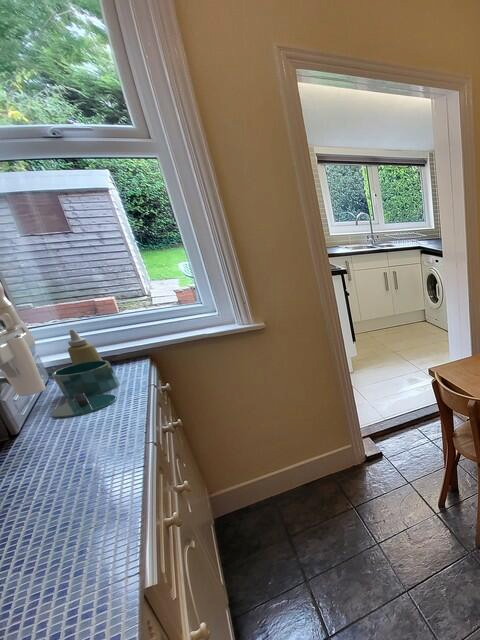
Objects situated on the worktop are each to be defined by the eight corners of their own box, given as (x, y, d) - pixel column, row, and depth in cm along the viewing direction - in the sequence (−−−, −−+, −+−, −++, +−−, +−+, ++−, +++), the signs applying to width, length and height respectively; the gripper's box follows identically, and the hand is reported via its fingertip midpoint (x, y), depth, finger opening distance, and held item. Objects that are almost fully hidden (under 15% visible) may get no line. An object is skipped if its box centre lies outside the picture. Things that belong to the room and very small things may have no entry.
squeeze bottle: (111, 371, 153) (88, 325, 146) (109, 377, 147) (86, 329, 140) (81, 377, 148) (56, 330, 141) (79, 384, 143) (53, 334, 135)
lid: (44, 424, 116) (35, 410, 114) (62, 405, 127) (55, 391, 125) (110, 410, 122) (103, 396, 120) (122, 393, 134) (116, 380, 132)
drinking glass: (22, 399, 106) (-9, 344, 100) (7, 396, 108) (-24, 341, 102) (56, 388, 111) (28, 335, 105) (41, 386, 114) (13, 334, 107)
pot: (58, 404, 128) (44, 379, 125) (73, 389, 139) (60, 366, 135) (114, 393, 134) (102, 369, 131) (124, 380, 145) (113, 357, 141)
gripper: (-6, 313, 108) (21, 362, 114) (-50, 332, 92) (-17, 387, 98) (28, 310, 111) (52, 358, 117) (-10, 327, 95) (21, 381, 101)
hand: (21, 371), depth 107 cm, fingers closed on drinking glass, 6 cm apart
